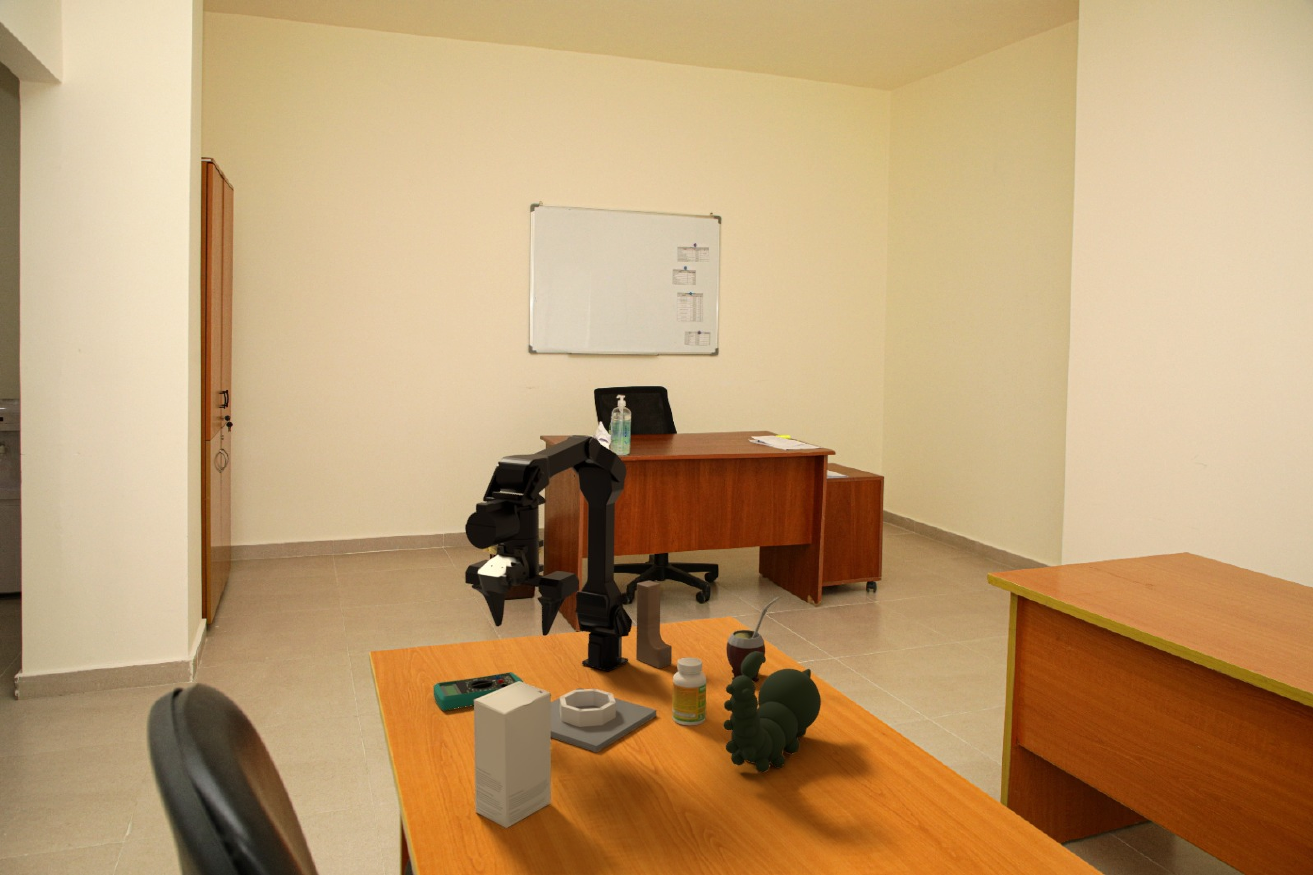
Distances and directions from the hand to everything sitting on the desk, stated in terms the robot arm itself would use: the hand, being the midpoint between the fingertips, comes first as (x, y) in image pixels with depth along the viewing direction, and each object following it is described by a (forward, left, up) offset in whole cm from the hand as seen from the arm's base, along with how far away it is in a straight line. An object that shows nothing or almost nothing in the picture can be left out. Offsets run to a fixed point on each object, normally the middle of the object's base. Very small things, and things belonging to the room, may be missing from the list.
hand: (521, 630), depth 146 cm
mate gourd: (-36, +22, -14) cm, 45 cm away
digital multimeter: (-1, -11, -15) cm, 18 cm away
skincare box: (+23, +19, -14) cm, 33 cm away
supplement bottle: (-14, +23, -14) cm, 31 cm away
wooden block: (-32, +4, -14) cm, 36 cm away
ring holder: (-4, +10, -14) cm, 18 cm away
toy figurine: (-12, +40, -14) cm, 44 cm away
